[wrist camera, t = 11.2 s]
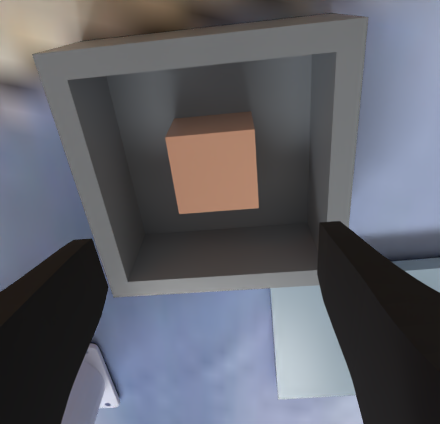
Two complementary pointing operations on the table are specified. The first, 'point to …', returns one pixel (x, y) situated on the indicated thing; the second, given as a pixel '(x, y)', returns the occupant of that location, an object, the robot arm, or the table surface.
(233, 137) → the uncovered block
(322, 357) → the lid
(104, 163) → the storage box
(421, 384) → the robot arm
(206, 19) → the table surface
